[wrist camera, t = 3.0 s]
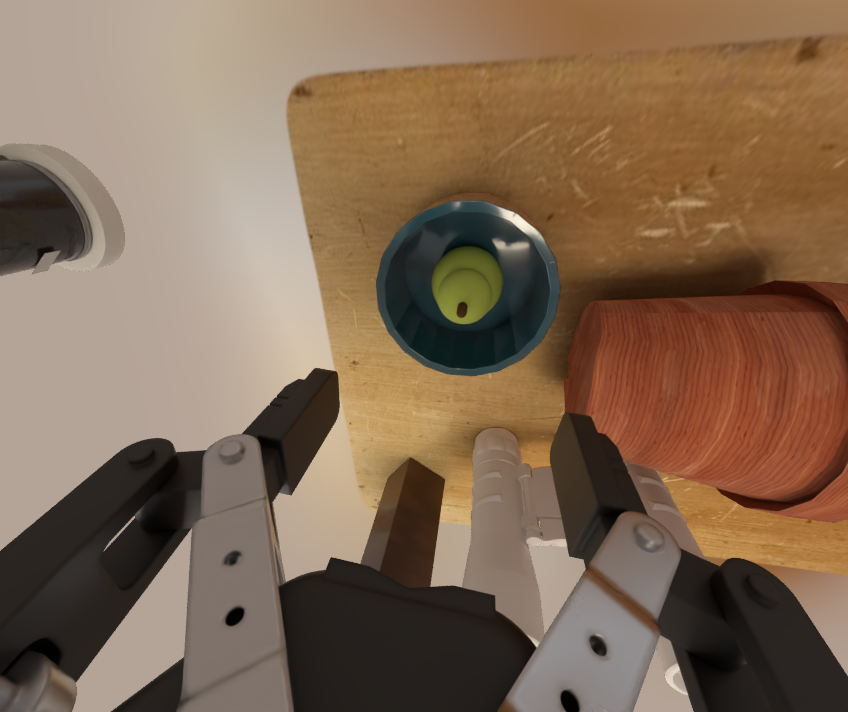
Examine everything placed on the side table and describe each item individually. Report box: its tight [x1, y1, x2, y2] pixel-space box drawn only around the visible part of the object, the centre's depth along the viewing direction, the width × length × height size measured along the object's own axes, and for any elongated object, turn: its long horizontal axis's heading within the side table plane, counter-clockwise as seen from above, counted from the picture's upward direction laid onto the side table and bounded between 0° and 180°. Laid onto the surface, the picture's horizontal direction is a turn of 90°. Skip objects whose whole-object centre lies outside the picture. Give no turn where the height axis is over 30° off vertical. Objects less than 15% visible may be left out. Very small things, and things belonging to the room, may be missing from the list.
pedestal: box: [361, 458, 445, 588], centre depth 29 cm, size 5×5×28 cm
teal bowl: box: [376, 192, 561, 376], centre depth 25 cm, size 12×12×7 cm
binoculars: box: [462, 428, 707, 696], centre depth 27 cm, size 17×5×18 cm, turn 98°
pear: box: [431, 246, 503, 324], centre depth 23 cm, size 5×5×9 cm
